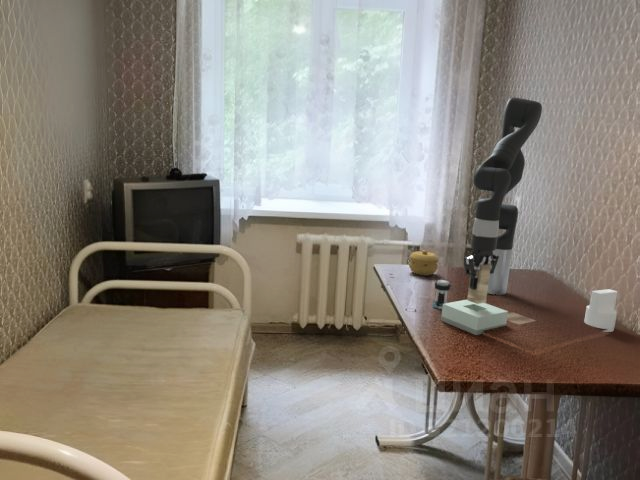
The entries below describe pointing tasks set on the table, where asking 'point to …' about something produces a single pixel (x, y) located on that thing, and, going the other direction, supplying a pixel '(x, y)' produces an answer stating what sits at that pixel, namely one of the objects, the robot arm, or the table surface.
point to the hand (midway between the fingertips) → (477, 287)
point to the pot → (423, 262)
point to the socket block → (473, 316)
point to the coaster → (518, 318)
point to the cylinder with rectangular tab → (602, 310)
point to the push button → (441, 293)
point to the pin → (480, 285)
